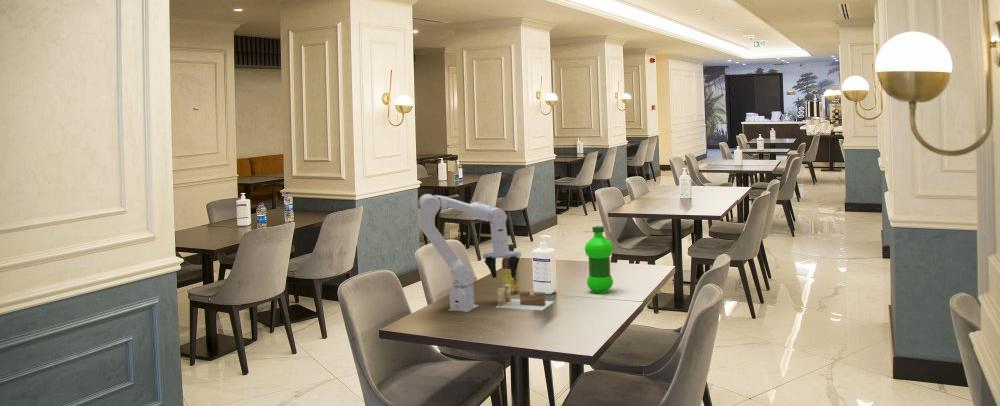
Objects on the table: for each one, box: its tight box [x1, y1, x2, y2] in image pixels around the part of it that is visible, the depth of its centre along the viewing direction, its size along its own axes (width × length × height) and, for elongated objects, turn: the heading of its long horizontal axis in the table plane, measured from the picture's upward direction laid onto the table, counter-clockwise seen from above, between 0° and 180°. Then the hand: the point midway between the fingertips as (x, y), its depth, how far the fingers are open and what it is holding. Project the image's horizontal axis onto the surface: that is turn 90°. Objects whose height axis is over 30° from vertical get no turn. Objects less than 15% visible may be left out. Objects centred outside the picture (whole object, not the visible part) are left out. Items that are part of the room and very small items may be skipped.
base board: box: [495, 298, 556, 311], centre depth 272 cm, size 13×18×1 cm
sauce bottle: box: [501, 242, 520, 296], centre depth 290 cm, size 7×6×20 cm
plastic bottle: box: [584, 225, 614, 294], centre depth 287 cm, size 10×10×25 cm
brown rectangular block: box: [519, 290, 546, 306], centre depth 271 cm, size 2×9×4 cm, turn 66°
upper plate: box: [496, 284, 512, 306], centre depth 275 cm, size 8×2×6 cm, turn 156°
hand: (504, 277), depth 275 cm, fingers open, 7 cm apart
